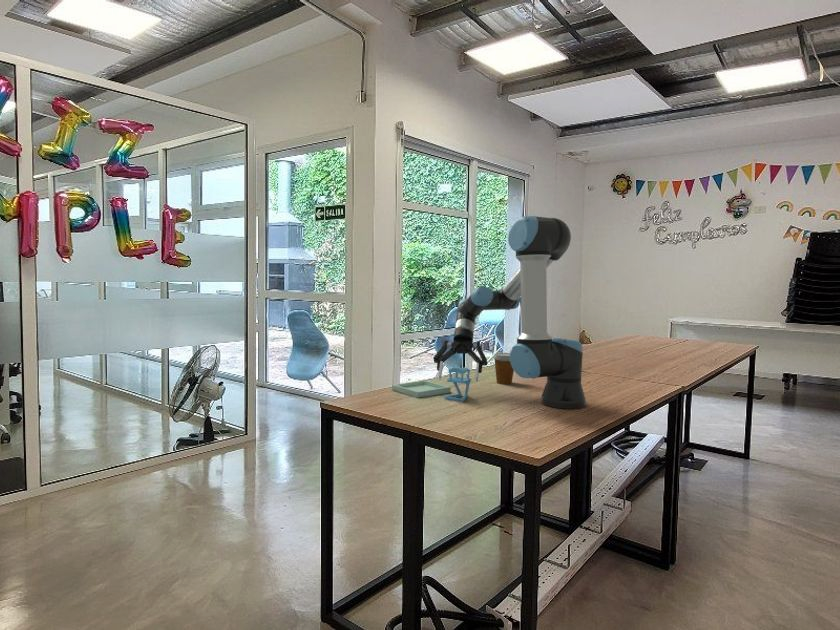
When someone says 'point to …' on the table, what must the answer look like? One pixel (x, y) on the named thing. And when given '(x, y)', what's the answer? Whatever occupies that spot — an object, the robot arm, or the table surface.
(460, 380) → the chair
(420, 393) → the tray
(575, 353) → the robot arm
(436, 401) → the table surface
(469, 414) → the table surface
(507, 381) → the disposable coffee cup
